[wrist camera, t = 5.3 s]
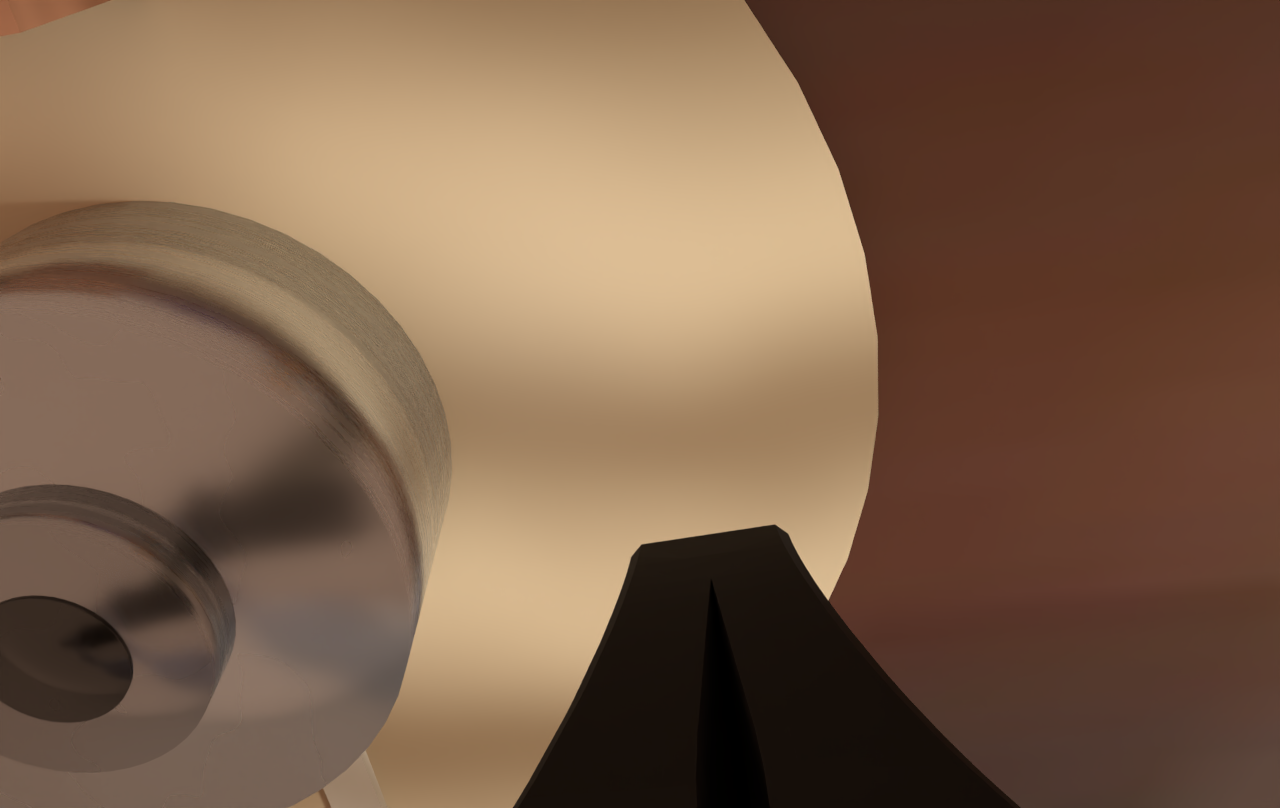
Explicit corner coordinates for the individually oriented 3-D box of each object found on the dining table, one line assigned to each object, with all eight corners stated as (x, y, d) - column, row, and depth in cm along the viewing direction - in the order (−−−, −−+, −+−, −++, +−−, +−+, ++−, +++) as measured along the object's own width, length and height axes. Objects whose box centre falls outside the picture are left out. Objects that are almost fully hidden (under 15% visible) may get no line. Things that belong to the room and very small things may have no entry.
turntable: (900, 766, 20) (965, 985, 16) (-59, 897, 21) (-205, 1127, 17) (790, -492, 12) (870, -640, 8) (-779, -161, 13) (-1354, -153, 9)
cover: (499, 616, 17) (463, 858, 13) (50, 677, 17) (-117, 928, 13) (377, 159, 13) (278, 297, 10) (-173, 246, 14) (-480, 412, 10)
